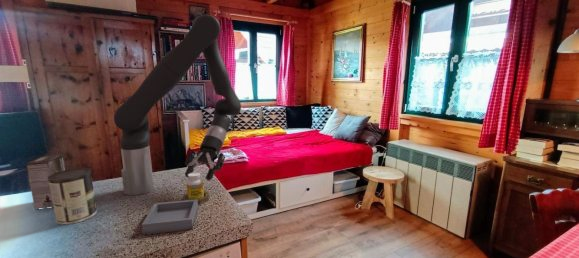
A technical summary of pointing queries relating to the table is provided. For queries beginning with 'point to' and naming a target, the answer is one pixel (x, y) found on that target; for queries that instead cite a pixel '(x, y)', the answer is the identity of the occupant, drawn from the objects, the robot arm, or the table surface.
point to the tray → (170, 217)
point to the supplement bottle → (195, 186)
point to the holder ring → (200, 201)
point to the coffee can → (72, 195)
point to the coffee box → (43, 178)
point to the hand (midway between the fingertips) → (197, 178)
